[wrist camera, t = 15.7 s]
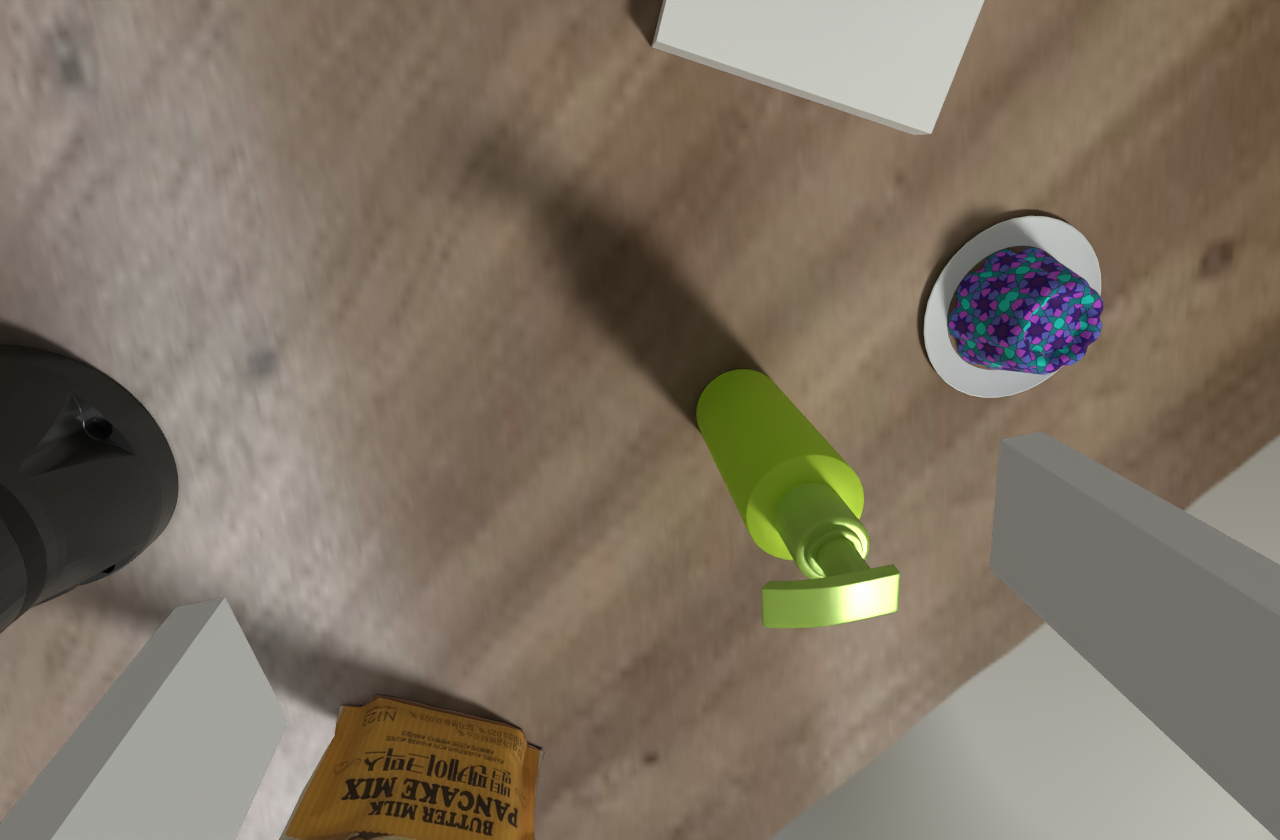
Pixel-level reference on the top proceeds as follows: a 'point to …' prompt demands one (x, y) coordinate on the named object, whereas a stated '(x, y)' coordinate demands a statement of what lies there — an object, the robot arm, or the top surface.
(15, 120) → the top surface
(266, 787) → the top surface
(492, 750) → the pancake mix bag
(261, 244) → the top surface
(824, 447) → the soap dispenser
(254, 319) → the top surface
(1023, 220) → the patterned brimmed hat
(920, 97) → the post base
